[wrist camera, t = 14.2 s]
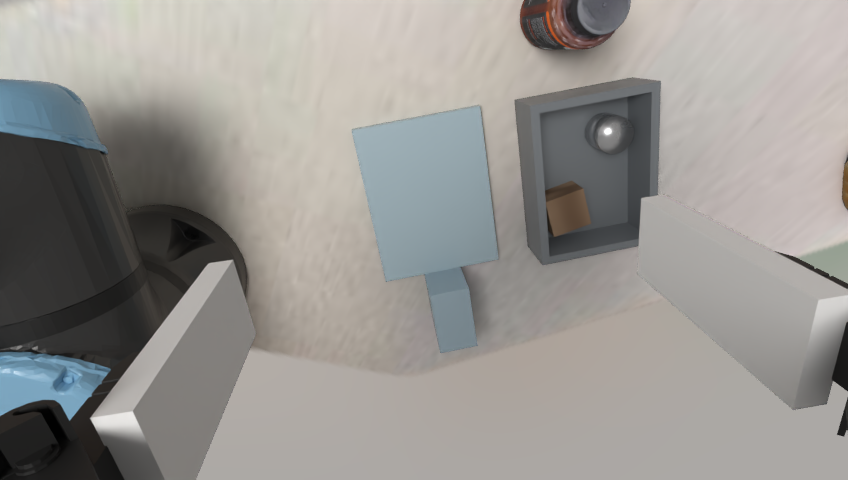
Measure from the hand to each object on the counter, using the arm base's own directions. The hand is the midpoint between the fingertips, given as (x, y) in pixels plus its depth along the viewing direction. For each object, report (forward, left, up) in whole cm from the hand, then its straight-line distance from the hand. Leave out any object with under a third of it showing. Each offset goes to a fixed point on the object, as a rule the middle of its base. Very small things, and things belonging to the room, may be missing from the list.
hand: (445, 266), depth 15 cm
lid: (+2, -12, -34) cm, 36 cm away
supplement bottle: (+16, +7, -34) cm, 38 cm away
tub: (+18, -8, -34) cm, 39 cm away
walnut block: (+15, -12, -33) cm, 38 cm away
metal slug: (+20, -5, -33) cm, 39 cm away
